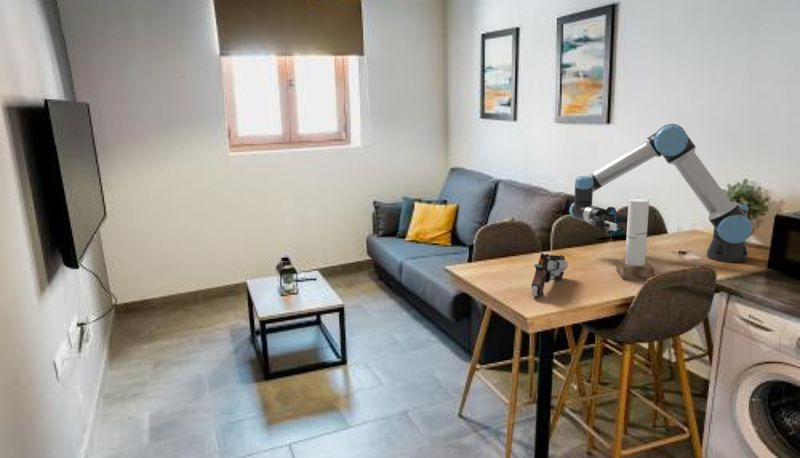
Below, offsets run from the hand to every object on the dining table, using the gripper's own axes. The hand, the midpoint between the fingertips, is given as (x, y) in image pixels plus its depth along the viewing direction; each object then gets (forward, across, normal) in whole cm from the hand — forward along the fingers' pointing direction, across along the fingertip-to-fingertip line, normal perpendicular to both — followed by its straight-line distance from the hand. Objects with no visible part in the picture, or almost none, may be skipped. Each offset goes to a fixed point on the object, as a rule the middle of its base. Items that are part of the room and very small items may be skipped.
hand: (630, 225), depth 214 cm
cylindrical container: (+3, 0, -14) cm, 15 cm away
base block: (+4, 0, -19) cm, 20 cm away
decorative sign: (-53, -32, -20) cm, 65 cm away
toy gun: (+2, +37, -20) cm, 42 cm away
